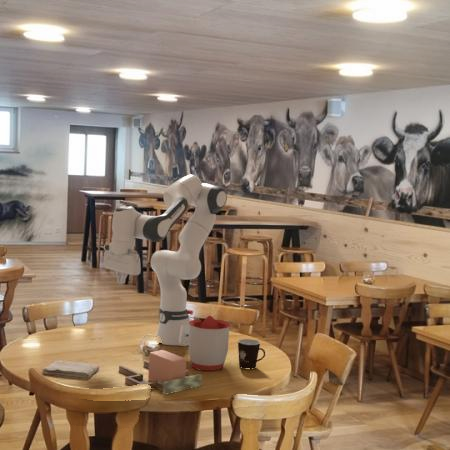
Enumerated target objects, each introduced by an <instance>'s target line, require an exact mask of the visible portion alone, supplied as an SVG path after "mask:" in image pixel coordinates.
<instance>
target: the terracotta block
mask: <svg viewBox="0 0 450 450" xmlns="http://www.w3.org/2000/svg"><path fill="white" fill-rule="evenodd" d="M148 361H149V368H148V377H147V379H149V380H148V381H150V380H151V381H150V382H152V381H153V382H154V381H161V382H167V381H171V380H175V379H180V378H184V377H185V375H186V370H187V358H186V357H183V356H180V355H177V354H175V353H173V352H169V351H167V350H164V349H160V350H156V351H155V350H154V351H150V352H149V357H148Z"/></svg>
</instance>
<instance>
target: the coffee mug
mask: <svg viewBox="0 0 450 450" xmlns="http://www.w3.org/2000/svg"><path fill="white" fill-rule="evenodd" d="M260 346H261V341H259V340H257V339H255V338H254V339H253V338H241V339H238V340H237V348H238V349H237V350H238V351H237V353H238V364H239V365H238V366H240V367H242V368H250V369H251V370H253V369H252V368H255V367H256V368H257V363H258V362H259V361H262V360H263V359H264V358H265V357H266V351H265V349H263V347H260ZM259 351H262V353H263V356H262V357H261V358H259V359H258V357H259ZM240 367H239V368H240ZM242 368H241V369H242ZM256 368H255V369H256Z"/></svg>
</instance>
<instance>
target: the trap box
mask: <svg viewBox="0 0 450 450" xmlns="http://www.w3.org/2000/svg"><path fill="white" fill-rule="evenodd" d="M143 367H144V368H146V367H147V369H149V360H144V361H143ZM118 372H120V373H122V374H124V375H126V377H125V378H124V383H125V384H126V385H128V386H131V385H137V384H148V385H150V386H151V388H155V389H157V388H159V389H161V390H160V391H162V390H163V391H162V394H163V393H164V394H167V393H171V392H175V391H179V392H181V391H180V390H183V391H185V390H184V389H187V390H189V389H188V388H191V387H195V388H197V387H196V386H199V387H201V386H202V374H200V373H198V374H194V375H193V374H192V375H189V372H190V370H189V369H186V375H185V377H184V378H180V379H175V380H171V381H167V382H161V381H154V382H152V381H150V382H147V381H145V380H144V374H143V373H141V372H138V371H136V370H133V369H132V368H129V367H127V366H124V365H119V366H118ZM188 375H189V376H188ZM200 385H201V386H200ZM159 389H158V390H159ZM191 389H192V388H191ZM175 393H176V392H175ZM164 394H163V395H164ZM171 394H172V393H171ZM167 395H168V394H167Z"/></svg>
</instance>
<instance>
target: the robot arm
mask: <svg viewBox="0 0 450 450" xmlns="http://www.w3.org/2000/svg"><path fill="white" fill-rule="evenodd" d="M227 196H228V195H227V192H226V190H225V188H223V187H221V186H219V185H214V184H212V183H206V182H202V181H201V179H200V177H198V176H197V175H195V174H187V175H185V176H183V177H181V178H179V179H177V180H176V181H175V182H173V183H172V184H170V185H169V186H168V187H167V188H166V189H165V190H164V192H163V202H164V204H165V206H166V208H167V210H165V211H164V212H163V213H162V214H161V215H147V214H143V213H141V212H139V211H137V210H136V209H135V207H134V206H132V205H123V206H122V205H121V206H118V207H116V208H115V209H114V212H113V216H112V221H111V222H112V223H111V231H112V237H111V242H109V243H106V244H104V245H103V250H104V252H103V268H105V269H106V270H111V271H114V272H115V275H116V276H115V277H116V279H117V281H116V283H118V284H122V285H124V284H126V279H127V277H128V275H130V276H139V275H140V274H141V268H142V267H141V266H142V265H141V258H140V254H139V253H138V251H137V250H135V239H140V240H146V241H148V242H149V241H150V242H153V243H160V242H163V241H164V239H166V237H167V236H168V234H169V232H170V231H171V229H172V228H173V227H174V225H175V224H176V223H178V221H179V220H180V219H182V217H183V216H184V214H185V213H186V212H187V210H188V207H189V206H192V207H194V208H195V210H194V212H193V214H192V215H191V216H190V217H189V219H188V220H187V221H186V223H185V224H184V226H183V228H182V229H181V231H180V232H179V234H178V237H177V238H178V239H177V240H178V242H179V244H180V246H179V248H178V250H177V251H173V250H168V249H161V250H156V251H154V253H153V254H152V255H151V259H150V267H151V269H152V270H153V272H154V274H155V275H156V277H157V280H158V284H159V289H160V306H159V310H158V319H159V320H158V321H159V322H158V325H157V326H158V328H157V332H156V336H160V338H161V340H162V344H161V345H165V346H181V347H187V346H189V331H190V324H189V322H190V321H192V320H193V319H191V318H190V317H189V316H190V315H191V316H192V315H193V314H194V312H195V311H194V310H192V309H188V308H187V297H188V295H187V294H188V293H187V290H186V288H185V287H184V286H183V284H182V281H181V280H184V281H185V280H186V281H187V280H194V279H196V278H198V276H199V275H200V273H201V270H202V264H201V260H200V253H201V249H202V248H203V245H204V243H205V242H206V240H207V238H208V237H209V235H210V233H211V231H212V229H213V228H214V225H215V222H216V219H217V214H218V213H219V212H220V211H221V210H222V209H223V208H224V207H225V205H226V203H227V199H228V197H227ZM156 336H155V337H156Z"/></svg>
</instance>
